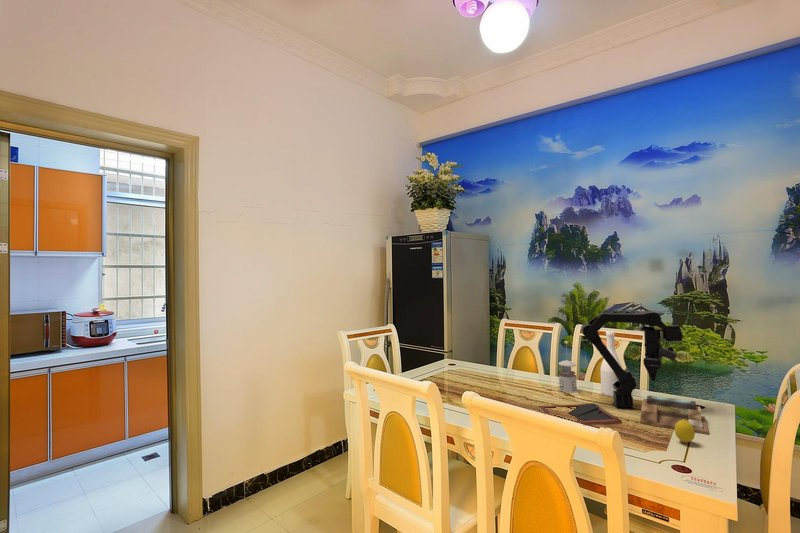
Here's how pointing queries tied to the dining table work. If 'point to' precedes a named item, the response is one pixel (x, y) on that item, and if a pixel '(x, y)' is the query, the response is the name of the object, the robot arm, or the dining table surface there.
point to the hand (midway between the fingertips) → (653, 378)
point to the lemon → (684, 431)
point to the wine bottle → (606, 371)
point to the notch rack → (672, 418)
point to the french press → (567, 381)
